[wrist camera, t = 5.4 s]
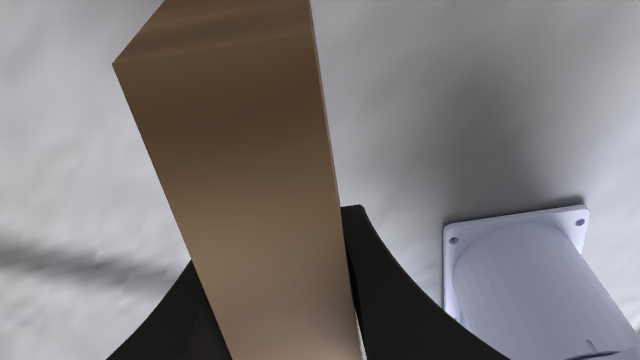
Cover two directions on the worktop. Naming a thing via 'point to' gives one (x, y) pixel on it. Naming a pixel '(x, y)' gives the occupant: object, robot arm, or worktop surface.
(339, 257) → the long wooden beam
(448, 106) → the worktop surface
